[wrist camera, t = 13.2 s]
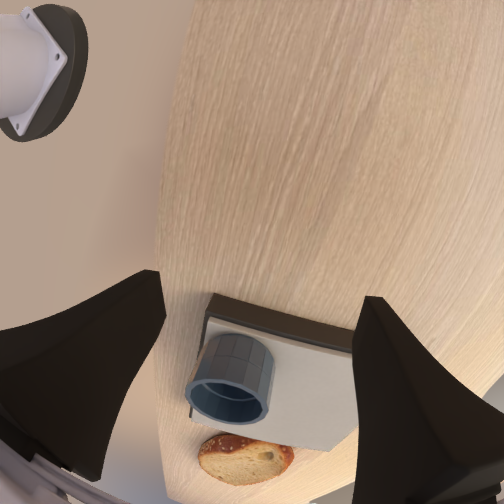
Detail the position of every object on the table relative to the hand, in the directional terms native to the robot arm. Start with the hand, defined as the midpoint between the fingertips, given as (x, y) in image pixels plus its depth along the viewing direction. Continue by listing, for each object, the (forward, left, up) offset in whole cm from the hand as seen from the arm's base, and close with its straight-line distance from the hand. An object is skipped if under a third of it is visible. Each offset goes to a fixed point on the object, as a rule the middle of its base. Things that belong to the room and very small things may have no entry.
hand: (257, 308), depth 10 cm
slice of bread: (+28, -26, -10) cm, 40 cm away
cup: (+7, -8, -7) cm, 13 cm away
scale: (+14, -9, -10) cm, 20 cm away
